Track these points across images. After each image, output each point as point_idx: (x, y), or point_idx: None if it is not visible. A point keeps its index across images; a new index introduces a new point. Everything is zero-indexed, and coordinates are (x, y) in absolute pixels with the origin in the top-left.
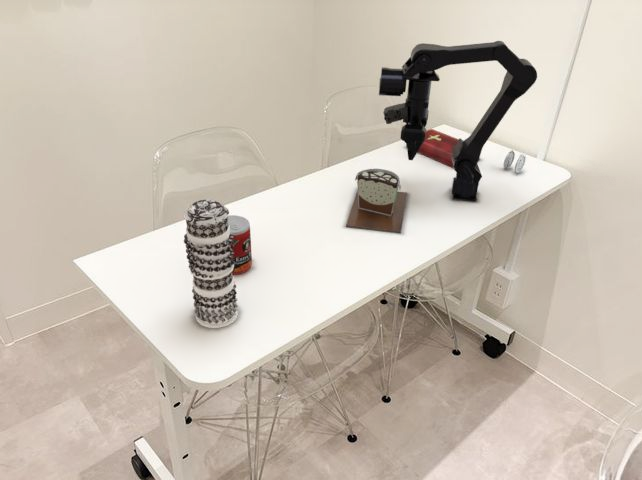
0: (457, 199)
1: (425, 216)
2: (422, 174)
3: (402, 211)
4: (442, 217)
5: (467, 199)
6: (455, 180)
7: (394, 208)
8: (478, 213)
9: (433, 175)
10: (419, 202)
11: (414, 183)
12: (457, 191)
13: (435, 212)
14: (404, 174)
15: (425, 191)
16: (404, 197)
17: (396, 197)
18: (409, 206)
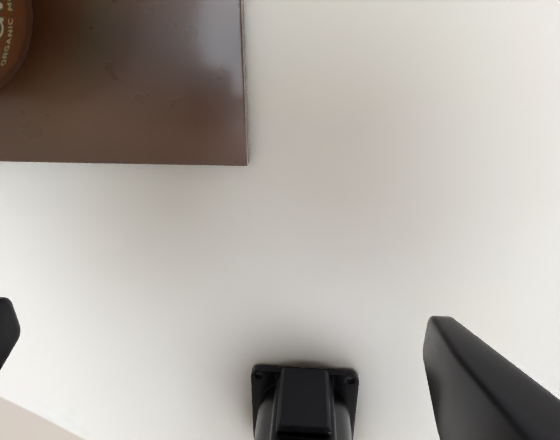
0: (251, 381)
1: (48, 257)
2: (538, 237)
3: (13, 153)
4: (74, 320)
5: (253, 415)
6: (284, 435)
7: (24, 106)
8: (164, 432)
9: (523, 292)
10: (177, 229)
11: (404, 197)
12: (273, 401)
13: (105, 296)
14: (539, 129)
15: (311, 254)
16: (178, 154)
17: (162, 106)
18: (114, 182)
